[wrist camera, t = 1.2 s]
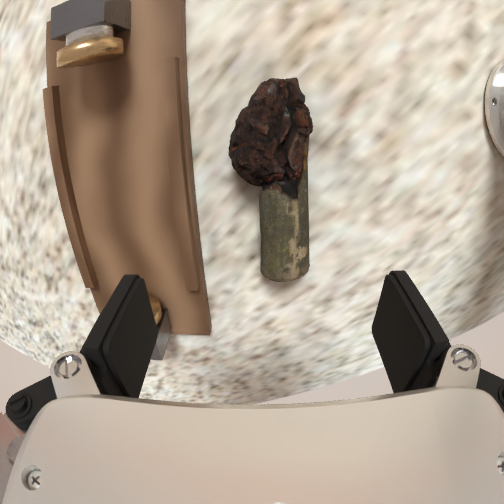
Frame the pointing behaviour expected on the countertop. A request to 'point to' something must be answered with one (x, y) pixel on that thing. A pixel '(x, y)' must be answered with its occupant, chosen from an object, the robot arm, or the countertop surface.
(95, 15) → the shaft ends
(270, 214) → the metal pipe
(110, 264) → the cradle
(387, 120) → the countertop surface
